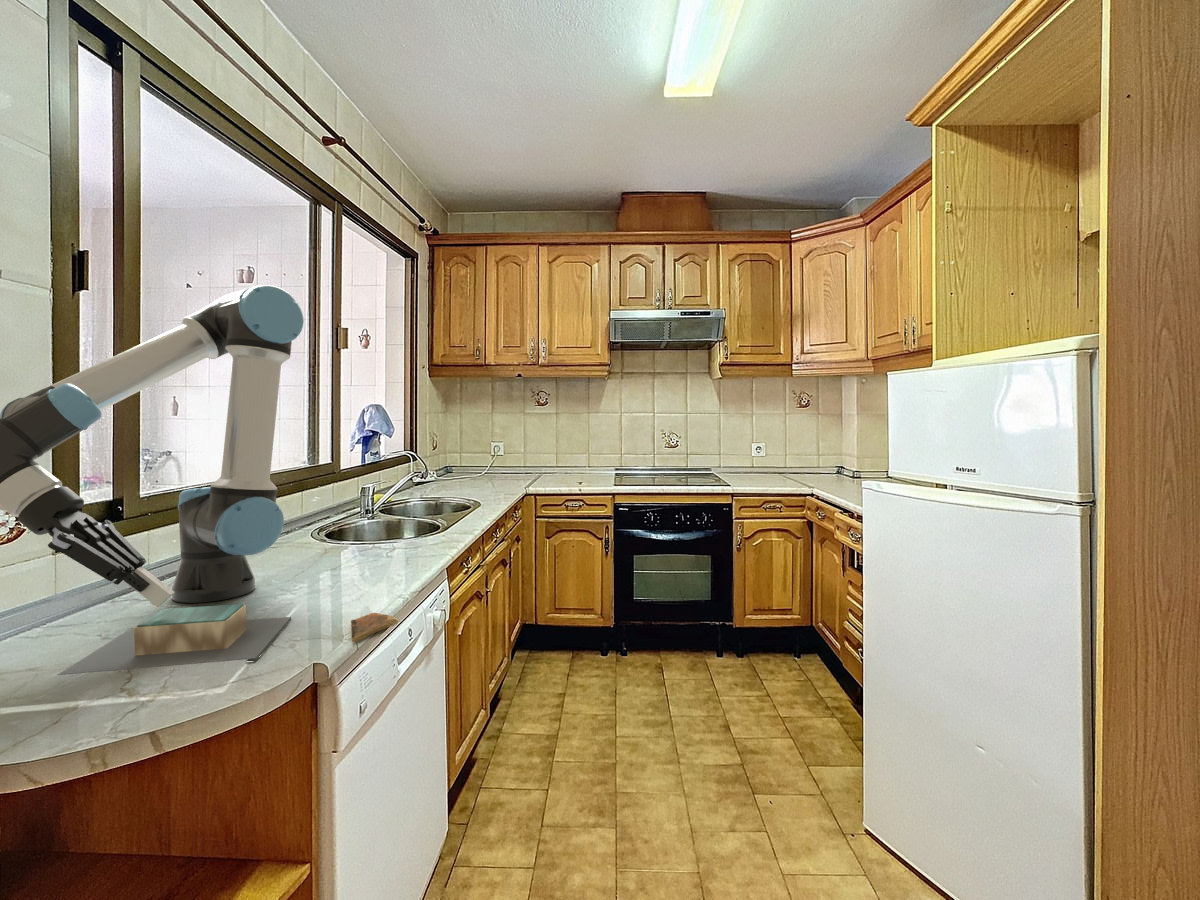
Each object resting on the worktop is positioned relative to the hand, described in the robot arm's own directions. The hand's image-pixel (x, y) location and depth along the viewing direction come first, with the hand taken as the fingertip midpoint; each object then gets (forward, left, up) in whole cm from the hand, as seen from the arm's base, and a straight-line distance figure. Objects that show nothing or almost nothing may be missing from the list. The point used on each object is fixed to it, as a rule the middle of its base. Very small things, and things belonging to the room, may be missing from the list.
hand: (166, 599), depth 99 cm
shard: (-27, +17, -9) cm, 33 cm away
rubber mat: (-3, +1, -8) cm, 9 cm away
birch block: (+2, -2, -5) cm, 6 cm away
